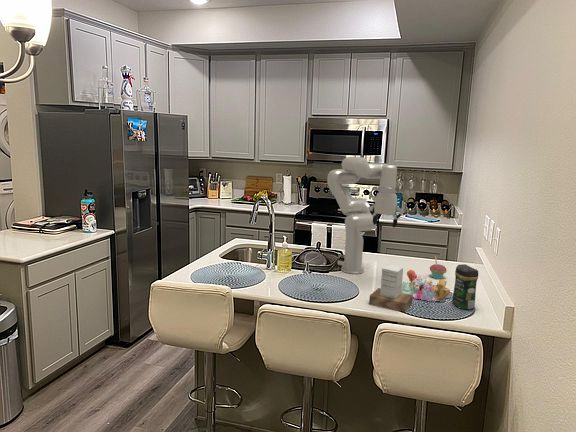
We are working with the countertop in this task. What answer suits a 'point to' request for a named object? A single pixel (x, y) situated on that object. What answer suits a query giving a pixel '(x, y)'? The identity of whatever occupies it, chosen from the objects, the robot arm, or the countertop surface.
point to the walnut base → (391, 301)
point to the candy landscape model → (425, 288)
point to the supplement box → (391, 281)
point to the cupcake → (437, 270)
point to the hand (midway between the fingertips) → (384, 225)
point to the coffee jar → (465, 287)
